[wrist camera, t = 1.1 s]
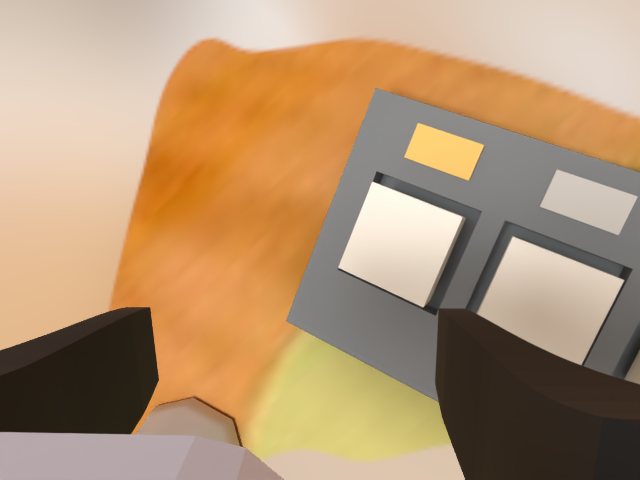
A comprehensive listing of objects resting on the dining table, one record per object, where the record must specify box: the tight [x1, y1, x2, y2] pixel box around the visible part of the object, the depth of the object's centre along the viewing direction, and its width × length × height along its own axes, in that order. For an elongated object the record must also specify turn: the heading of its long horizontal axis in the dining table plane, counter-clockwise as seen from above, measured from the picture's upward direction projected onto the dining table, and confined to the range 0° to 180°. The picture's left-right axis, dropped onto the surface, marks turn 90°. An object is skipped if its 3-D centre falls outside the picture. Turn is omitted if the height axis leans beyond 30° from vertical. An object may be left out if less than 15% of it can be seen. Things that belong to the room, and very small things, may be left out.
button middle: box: [476, 236, 624, 365], centre depth 19 cm, size 4×4×2 cm
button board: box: [286, 88, 640, 402], centre depth 20 cm, size 20×12×2 cm, turn 68°
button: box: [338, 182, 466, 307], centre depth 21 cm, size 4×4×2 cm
